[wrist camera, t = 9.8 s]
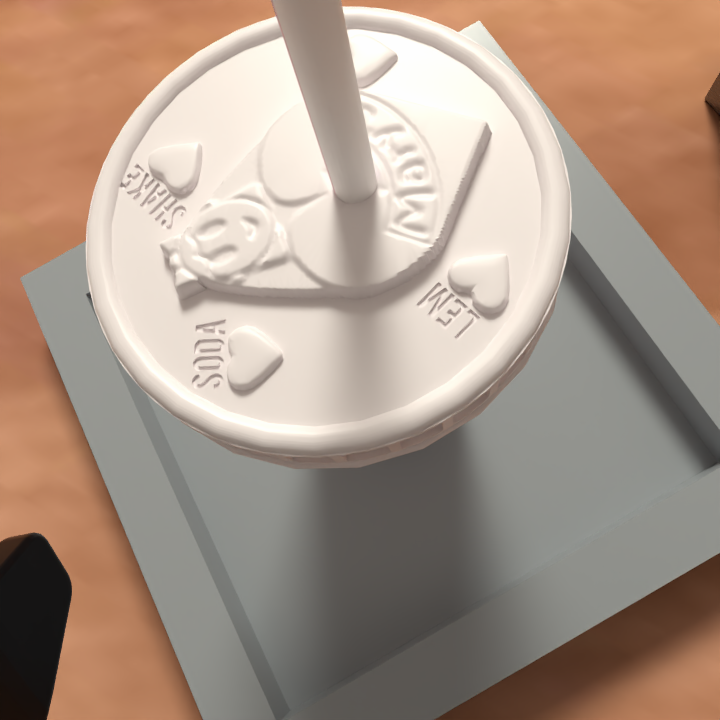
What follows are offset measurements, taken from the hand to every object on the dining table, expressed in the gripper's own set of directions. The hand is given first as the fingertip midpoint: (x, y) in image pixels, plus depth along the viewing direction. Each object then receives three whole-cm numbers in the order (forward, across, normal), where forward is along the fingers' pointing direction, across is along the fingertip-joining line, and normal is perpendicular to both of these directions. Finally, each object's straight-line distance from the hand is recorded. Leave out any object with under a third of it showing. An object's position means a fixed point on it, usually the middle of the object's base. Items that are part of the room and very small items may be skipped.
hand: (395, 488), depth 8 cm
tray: (+9, 0, +4) cm, 10 cm away
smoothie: (+9, 0, +4) cm, 10 cm away
